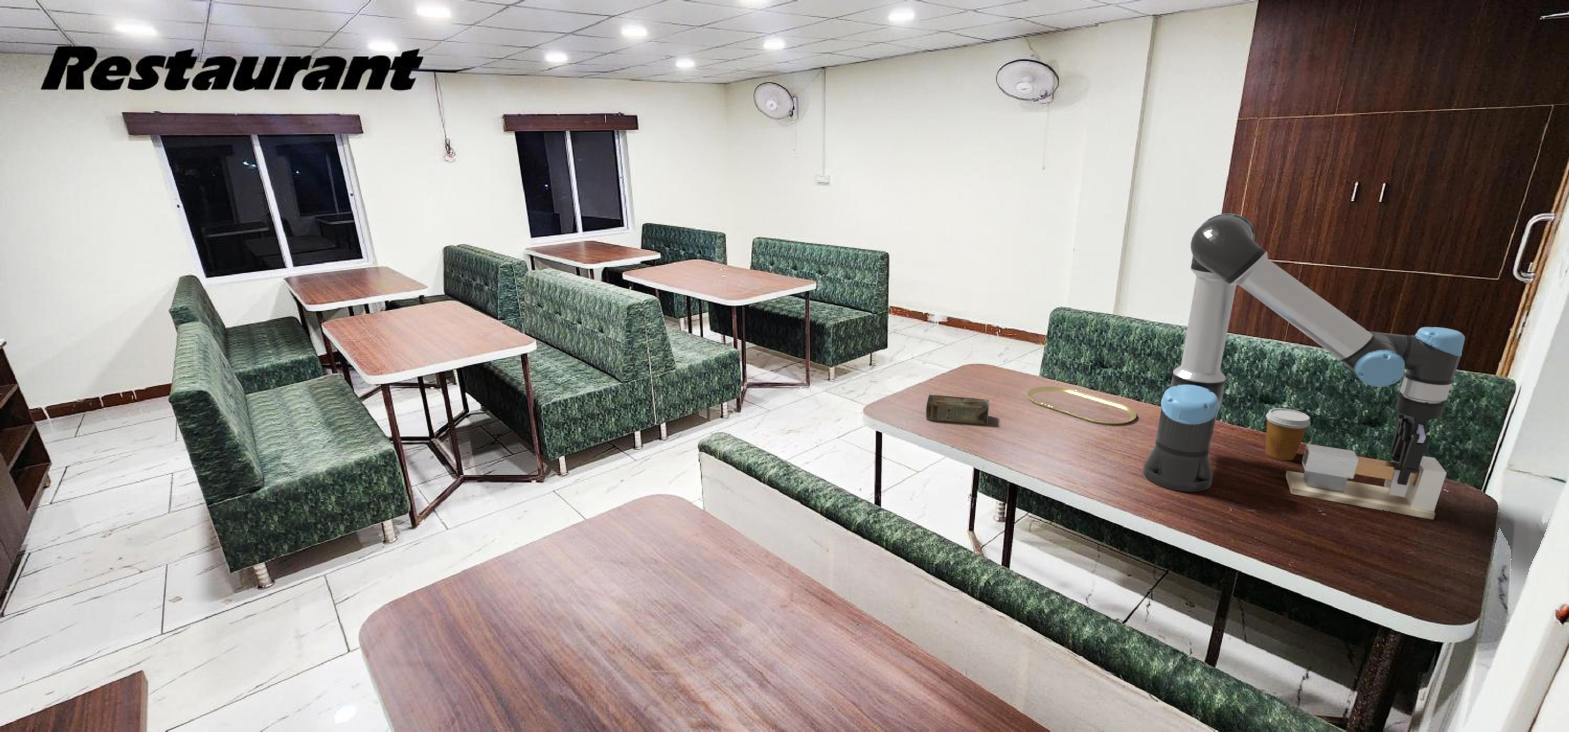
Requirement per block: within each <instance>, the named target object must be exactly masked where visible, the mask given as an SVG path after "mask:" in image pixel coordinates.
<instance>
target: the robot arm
mask: <svg viewBox="0 0 1569 732" xmlns="http://www.w3.org/2000/svg"><path fill="white" fill-rule="evenodd" d="M1255 238H1256V233H1255V229H1254V226H1253V225H1252V223H1251V222H1250V221H1249V220H1248V219H1247V218H1245V217H1243V216H1242V215H1239V214H1235V213H1221V214H1216V215H1214V216H1212V217H1209V218H1208V219H1206V220H1205V221H1204V222H1203V223H1202V224H1201V225H1200V226H1199V227H1198V228H1197V229H1196V230H1195V232H1194V234H1193V236H1192V238H1191V241H1190V251H1191V255H1192V259H1191V265H1190V270H1191V272H1192V273H1193V274H1194V275H1195V276H1196V277H1195V283H1194V289H1193V295H1192V301H1191V306H1190V312H1189V318H1188V323H1187V327H1186V328H1187V329H1186V330H1187V331H1186V335H1185V340H1184V341H1185V342H1184V346H1183V352H1182V357H1181V358H1182V359H1181V362H1180V365H1179V366H1178V367H1176V368H1175V369H1173V372H1172V378H1171V384H1170V386H1169V388H1167V389H1166V390H1165V392H1164V393H1163V396H1162V398H1161V401H1160V406H1161V408H1160V414H1159V419H1158V420H1159V421H1158V425H1157V431H1156V439H1155V444H1154V446H1153V448H1152V449H1151V451H1150V453H1149V455H1148V456H1147V458H1146V459H1145V460H1144V464H1143V467H1142V468H1143V469H1142V473H1143V475H1144V477H1145V478H1146V479H1147V480H1149V481H1150V482H1152V483H1153V484H1156V485H1158V486H1159V487H1163V488H1166V489H1169V490H1173V491H1178V492H1188V493H1194V492H1195V493H1197V492H1204V491H1206V490H1208V489H1209V488H1211V486H1212V483H1213V482H1212V481H1213V476H1214V475H1213V470H1212V466H1211V462H1210V457H1209V453H1210V449H1211V444H1212V439H1213V434H1214V433H1213V432H1214V428H1215V423H1216V421H1217V417H1218V414H1219V411H1220V408H1221V407H1222V404H1223V400H1224V396H1223V394H1224V388H1225V382H1226V376H1225V375H1224V373H1223V371H1221V365H1222V361H1223V357H1224V356H1223V355H1224V350H1225V345H1226V342H1227V334H1228V330H1229V325H1230V320H1231V314H1232V309H1233V304H1234V299H1235V293H1236V288H1237V286H1239V287H1240V288H1242V289H1244V290H1245V291H1246V292H1247V293H1249V294H1250V295H1252V296H1253V297H1254V298H1256V299H1257V300H1259V302H1261V303H1262V304H1264V305H1265V306H1266V307H1268V308H1269V309H1270V310H1272V311H1273V312H1274V313H1276V314H1277V315H1279V316H1280V317H1281V318H1283V319H1284V320H1285V321H1287V322H1288V323H1289V324H1291V325H1292V326H1294V327H1295V328H1296V329H1298V330H1299V331H1300V332H1301V333H1303V334H1305V335H1306V337H1308V338H1309V339H1311V340H1313V341H1314V342H1315V343H1316V344H1318V345H1319V346H1321V347H1322V348H1323V349H1324V350H1326V351H1327V352H1329V353H1330V354H1332V355H1333V356H1334V357H1335V358H1337V359H1338V360H1339V361H1341V362H1342V363H1343V364H1344V365H1346V366H1347V367H1348V368H1350V369H1351V371H1352V370H1353V372H1354V373H1355V375H1356V377H1357V378H1358V379H1359V380H1360V381H1361V382H1363V384H1365V385H1368V386H1371V387H1375V388H1377V387H1379V388H1380V387H1381V388H1382V387H1383V388H1384V387H1388V386H1391V385H1393V384H1396V383H1398V382H1399V381H1400V380H1401V379H1402V377H1403V379H1402V383H1401V386H1400V390H1399V392H1400V393H1401V394H1399V395H1398V398H1397V402H1396V405H1395V410H1396V412H1398V415H1397V422H1396V423H1397V424H1396V427H1395V431H1394V435H1393V439H1392V442H1391V446H1390V449H1389V454H1390V455H1391V457H1390V459H1391V461H1390V462H1396V463H1399V466H1398V467H1394V470H1395V472H1394V476H1393V479H1392V480H1388V479H1384V480H1385V481H1384V483H1383V484H1384V485H1383V487H1387V488H1390V489H1389V492H1388V494H1389V495H1395V496H1400V497H1405V494H1406V491H1407V488H1408V485H1409V482H1410V478H1411V475H1412V473H1417V472H1418V468H1419V466H1420V463H1421V460H1422V457H1423V456H1424V454H1425V451H1426V448H1427V446H1428V444H1429V442H1430V440H1431V439H1432V437H1431V435H1429V434H1428V432H1429V430H1430V425H1429V424H1428V422H1429V421H1431V420H1438V419H1441V418H1442V416H1443V413H1444V410H1445V407H1446V403H1445V401H1447V399H1448V397H1449V393H1450V391H1453V389H1454V386H1453V385H1452V383H1453V380H1454V377H1455V375H1456V372H1457V368H1458V365H1459V363H1460V360H1461V357H1462V355H1463V354H1462V352H1463V348H1464V345H1465V340H1466V336H1465V335H1464V334H1463V333H1462V332H1460V331H1458V330H1455V329H1451V328H1446V327H1439V326H1437V327H1436V326H1434V327H1433V326H1432V327H1431V326H1424V327H1423V326H1422V327H1420V328H1419V329H1418V330H1417V332H1416V333H1415V335H1412V334H1411V335H1406V334H1397V333H1396V334H1395V333H1385V332H1379V331H1368V330H1366V328H1364V327H1363V326H1362V325H1361V324H1359V323H1357V322H1356V321H1354V320H1353V319H1351V318H1350V317H1349V316H1347V315H1346V314H1345V313H1343V311H1341V310H1339V309H1338V308H1336V307H1335V306H1334V305H1332V304H1331V303H1330V302H1328V301H1327V300H1325V299H1324V298H1322V297H1321V296H1320V295H1318V294H1317V293H1316V292H1314V291H1313V290H1312V289H1310V288H1309V287H1307V286H1306V285H1304V284H1303V283H1302V282H1301V281H1299V280H1298V279H1296V278H1295V277H1294V276H1292V275H1291V274H1289V273H1288V272H1287V271H1285V270H1284V269H1283V268H1281V267H1280V266H1278V265H1277V264H1276V263H1274V262H1273V261H1271V260H1270V259H1269V258H1268V251H1266V250H1265V249H1264V248H1263V247H1261V246H1260V245H1259V244H1258V243H1257V242H1256V241H1255V240H1256V239H1255ZM1404 373H1405V374H1404Z"/></svg>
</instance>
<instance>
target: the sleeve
mask: <svg viewBox="0 0 1569 732" xmlns="http://www.w3.org/2000/svg"><path fill="white" fill-rule="evenodd" d="M1357 457H1358V455H1357V454H1356V452H1355V451H1354V450H1349V449H1345V448H1343V449H1342V448H1337V447H1336V448H1335V447H1330V446H1323V445H1317V444H1309V443H1306V444H1305V448H1304V453H1303V456H1302V461H1301V463H1302V466H1303V469H1304V477H1303V478H1304V481H1305V484H1306V486H1307V487H1313V488H1319V489H1324V490H1330V491H1336V492H1341V493H1344V489H1345V486H1346V482H1347V481H1348V479H1352V480H1353V479H1354V477H1355V475H1356V474H1355V470H1356V467H1357V463H1358V458H1357Z"/></svg>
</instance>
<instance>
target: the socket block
mask: <svg viewBox="0 0 1569 732" xmlns="http://www.w3.org/2000/svg"><path fill="white" fill-rule="evenodd" d="M1419 470H1420V471H1419V475H1418V478H1417V481H1416V484H1413V483H1409V485H1408V488H1407V491H1406V494H1405V497H1406V499H1407V501H1408V502H1409V504H1410V506H1411V507H1412V508H1416V509H1422V510H1427V511H1433V512H1434V513H1435V509H1436V507H1437V503H1438V500H1439V498H1440V494H1441V491H1442V489H1443V486H1444V482H1445V479H1446V477H1447V472H1446V470H1445V469H1444V468H1443V466H1442V465H1441V464H1440V462H1439V461H1438V460H1437V458H1436V457H1431V456H1424V455H1423V457H1422V460H1421V463H1420V466H1419Z"/></svg>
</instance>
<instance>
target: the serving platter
mask: <svg viewBox="0 0 1569 732" xmlns="http://www.w3.org/2000/svg"><path fill="white" fill-rule="evenodd" d="M1040 392H1060V393H1065V394H1069V395H1072V396H1076V397H1079V398H1082V399H1086V400H1089V401H1093V402H1096V403H1099V404H1102V405H1105V406H1109V407H1112V408H1116V409H1119V410H1121V411H1124V412H1125V413H1127V414H1128V415H1129V417H1130V418H1129V419H1128V420H1126V421H1103V420H1096V419H1093V418H1088V417H1085V416H1083V415H1082V416H1081V415H1080V414H1076V413H1072V412H1069V411H1067V410H1064V409H1060V408H1058V407H1054V406H1051V405H1047V404H1045V403H1043V402H1039V401H1036V400H1034V399H1033V398H1032V396H1033V395H1034V394H1037V393H1040ZM1026 396H1027V398H1028V399H1029V400H1030V401H1031V402H1033V403H1034V404H1036V405H1038V406H1041V407H1044V408H1048V409H1050V410H1053V411H1056V412H1059V413H1063V414H1066V415H1069V416H1072V417H1075V418H1079V419H1080V420H1084V421H1088V422H1091V423H1094V424H1100V425H1109V426H1110V425H1115V426H1116V425H1117V426H1118V425H1124V424H1128V423H1131V422H1133V421H1134V420H1135V419H1136V417H1137V413H1136V411H1135V410H1134V409H1133V408H1132V407H1130V406H1127V405H1125V404H1123V403H1120V402H1115V401H1113V400H1109V399H1106V398H1102V397H1099V396H1096V395H1092V394H1088V393H1085V392H1082V391H1079V390H1075V389H1072V388H1071V389H1070V388H1067V387H1062V386H1061V387H1060V386H1049V385H1048V386H1037V387H1034V388H1031V389H1029V390H1028V391H1027V392H1026Z"/></svg>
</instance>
